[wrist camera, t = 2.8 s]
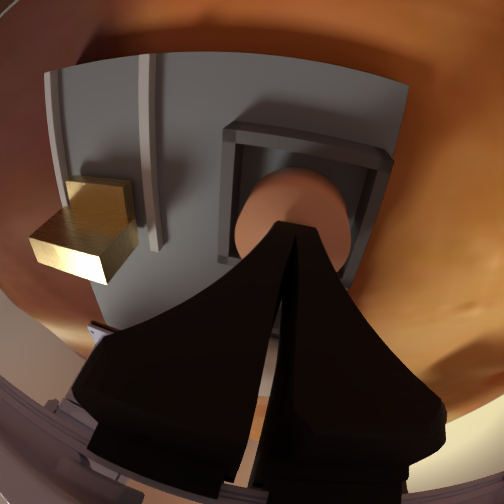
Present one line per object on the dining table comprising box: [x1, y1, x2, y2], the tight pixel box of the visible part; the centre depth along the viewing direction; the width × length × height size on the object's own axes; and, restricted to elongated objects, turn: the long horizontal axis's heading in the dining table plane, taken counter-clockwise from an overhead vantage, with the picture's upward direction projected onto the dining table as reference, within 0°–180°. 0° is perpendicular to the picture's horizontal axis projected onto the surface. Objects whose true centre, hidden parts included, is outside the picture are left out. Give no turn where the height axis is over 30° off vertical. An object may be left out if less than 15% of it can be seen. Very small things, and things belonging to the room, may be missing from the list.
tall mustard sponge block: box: [29, 175, 139, 285], centre depth 13 cm, size 3×5×4 cm, turn 85°
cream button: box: [258, 337, 279, 397], centre depth 17 cm, size 4×4×2 cm
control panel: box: [44, 52, 409, 339], centre depth 16 cm, size 20×17×4 cm
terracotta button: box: [235, 167, 351, 272], centre depth 11 cm, size 4×4×2 cm
